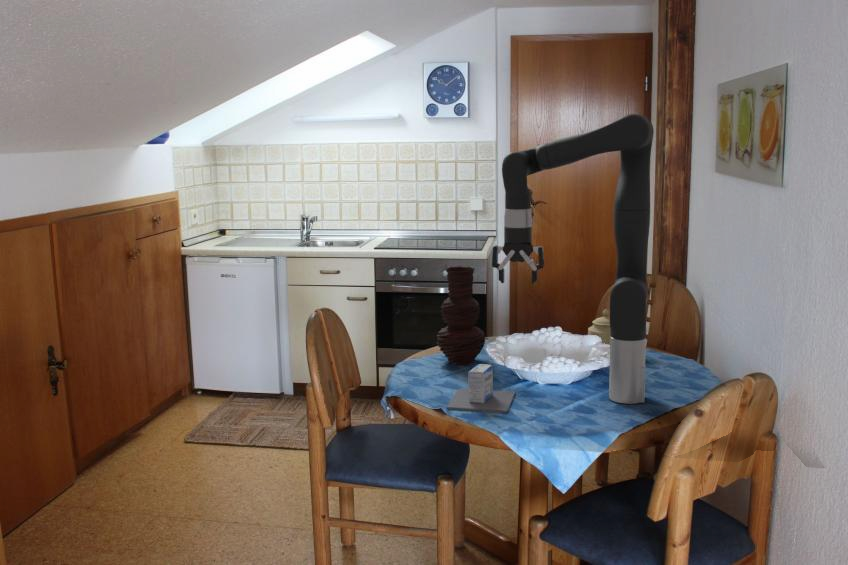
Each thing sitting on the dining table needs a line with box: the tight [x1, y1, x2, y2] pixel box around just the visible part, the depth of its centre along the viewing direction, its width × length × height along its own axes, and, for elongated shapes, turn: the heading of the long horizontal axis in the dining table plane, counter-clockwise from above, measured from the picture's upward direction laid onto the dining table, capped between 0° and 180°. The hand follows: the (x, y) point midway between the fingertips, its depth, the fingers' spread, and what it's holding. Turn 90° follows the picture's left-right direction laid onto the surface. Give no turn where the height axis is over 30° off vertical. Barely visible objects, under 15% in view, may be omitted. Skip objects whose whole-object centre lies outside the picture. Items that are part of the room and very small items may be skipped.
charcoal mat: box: [446, 388, 516, 414], centre depth 220 cm, size 16×16×1 cm
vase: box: [436, 265, 486, 366], centre depth 256 cm, size 15×15×30 cm
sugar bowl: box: [587, 308, 610, 345], centre depth 263 cm, size 15×11×15 cm
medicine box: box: [467, 363, 494, 404], centre depth 220 cm, size 8×4×9 cm, turn 157°
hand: (517, 283), depth 226 cm, fingers open, 8 cm apart
